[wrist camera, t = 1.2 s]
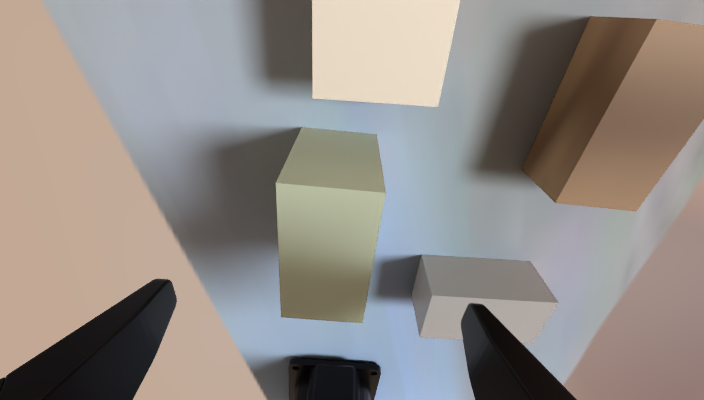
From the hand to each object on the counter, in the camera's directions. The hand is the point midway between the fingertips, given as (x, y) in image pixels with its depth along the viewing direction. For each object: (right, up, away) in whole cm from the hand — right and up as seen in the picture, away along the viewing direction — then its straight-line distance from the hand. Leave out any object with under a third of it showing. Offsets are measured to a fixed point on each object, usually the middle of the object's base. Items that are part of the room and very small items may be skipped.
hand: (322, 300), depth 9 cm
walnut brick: (+11, +7, +3) cm, 13 cm away
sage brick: (0, +4, +5) cm, 6 cm away
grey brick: (+8, -1, +8) cm, 11 cm away
